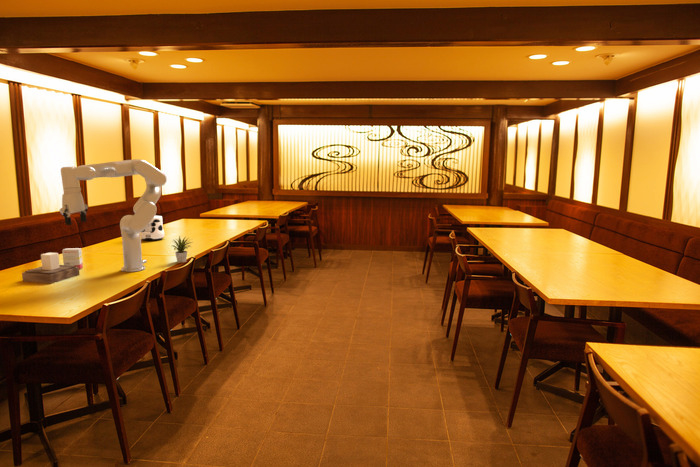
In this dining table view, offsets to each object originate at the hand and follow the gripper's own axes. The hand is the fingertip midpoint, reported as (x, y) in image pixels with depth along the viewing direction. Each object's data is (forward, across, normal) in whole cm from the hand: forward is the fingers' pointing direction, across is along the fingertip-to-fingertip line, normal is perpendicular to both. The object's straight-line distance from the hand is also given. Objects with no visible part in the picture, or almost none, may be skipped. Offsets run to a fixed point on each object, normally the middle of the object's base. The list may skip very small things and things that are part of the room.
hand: (76, 223), depth 239 cm
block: (+24, +6, -14) cm, 29 cm away
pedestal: (+29, +6, -15) cm, 33 cm away
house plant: (+32, -46, +28) cm, 63 cm away
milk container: (+33, -106, -38) cm, 117 cm away
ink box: (+30, -14, -20) cm, 39 cm away
